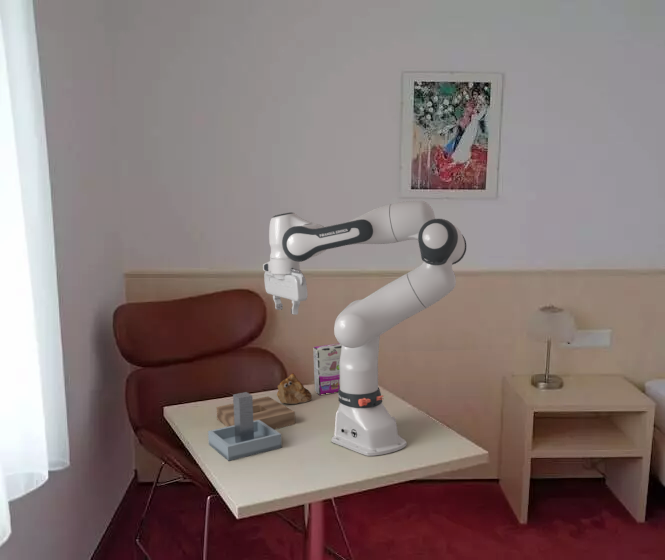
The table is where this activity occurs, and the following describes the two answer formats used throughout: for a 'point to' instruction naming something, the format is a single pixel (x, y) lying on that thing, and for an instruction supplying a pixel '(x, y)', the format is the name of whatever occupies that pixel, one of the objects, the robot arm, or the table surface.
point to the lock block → (261, 413)
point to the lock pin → (243, 417)
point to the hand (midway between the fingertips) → (286, 311)
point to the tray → (231, 450)
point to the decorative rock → (293, 391)
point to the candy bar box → (327, 368)
